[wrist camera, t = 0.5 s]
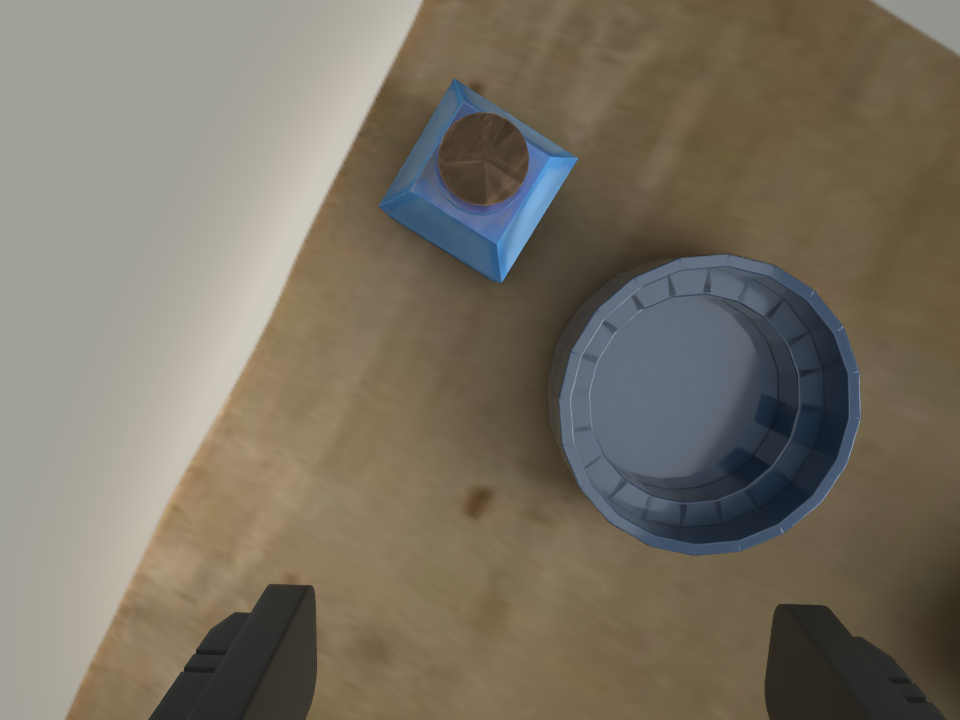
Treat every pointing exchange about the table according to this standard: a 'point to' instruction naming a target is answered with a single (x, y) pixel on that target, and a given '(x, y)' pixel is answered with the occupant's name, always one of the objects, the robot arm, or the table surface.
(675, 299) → the bowl
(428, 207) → the perfume bottle
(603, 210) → the table surface
